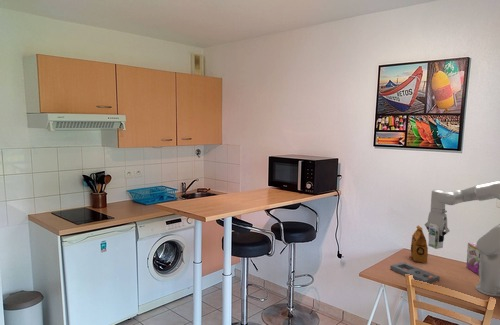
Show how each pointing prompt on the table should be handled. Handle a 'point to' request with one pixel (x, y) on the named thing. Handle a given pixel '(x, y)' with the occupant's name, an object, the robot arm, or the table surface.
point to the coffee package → (419, 246)
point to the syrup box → (434, 237)
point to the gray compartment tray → (414, 272)
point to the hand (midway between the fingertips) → (435, 239)
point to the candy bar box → (473, 258)
